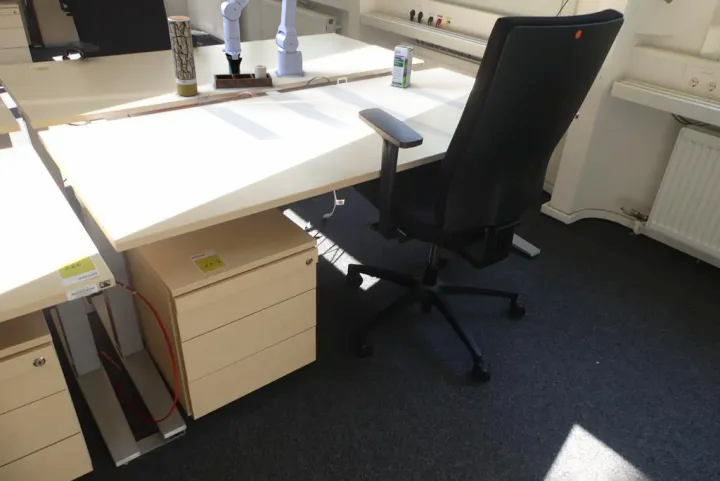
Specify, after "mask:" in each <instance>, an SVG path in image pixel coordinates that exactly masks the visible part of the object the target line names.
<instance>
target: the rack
mask: <svg viewBox="0 0 720 481" xmlns="http://www.w3.org/2000/svg"><path fill="white" fill-rule="evenodd" d="M266 76H267V78H255V72H254V73H240V74H229V73H222V74H219V73H218V74H213V81H214V85H215V86H214V87H215V89H216V90H217V89H220V90H221V89H243V88H245V89H247V88H272V87H273V77H272V76H271V74H270V73H269V72H266Z"/></svg>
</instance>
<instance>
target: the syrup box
mask: <svg viewBox="0 0 720 481" xmlns="http://www.w3.org/2000/svg"><path fill="white" fill-rule="evenodd" d="M393 50H394V51H393V64H392V75H391V76H392V77H391V83H390V84H391V86H393V87H399V88H406V87H408V86H410V84H411V77H412V66H413V57H414V46H409V45H408V46H407V45H403V44H398V45H396V46H395V47H394V49H393Z"/></svg>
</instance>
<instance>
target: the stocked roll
mask: <svg viewBox="0 0 720 481" xmlns="http://www.w3.org/2000/svg"><path fill="white" fill-rule="evenodd" d="M254 73H255V78H267V76H266V73H267V66H266V65H265V64H256V65H254Z"/></svg>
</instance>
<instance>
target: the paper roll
mask: <svg viewBox="0 0 720 481" xmlns="http://www.w3.org/2000/svg"><path fill="white" fill-rule="evenodd" d="M227 64H228V74H232V72H231V67H230V64H229V62H228V61H227ZM239 74H241V67H240V68H239Z"/></svg>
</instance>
